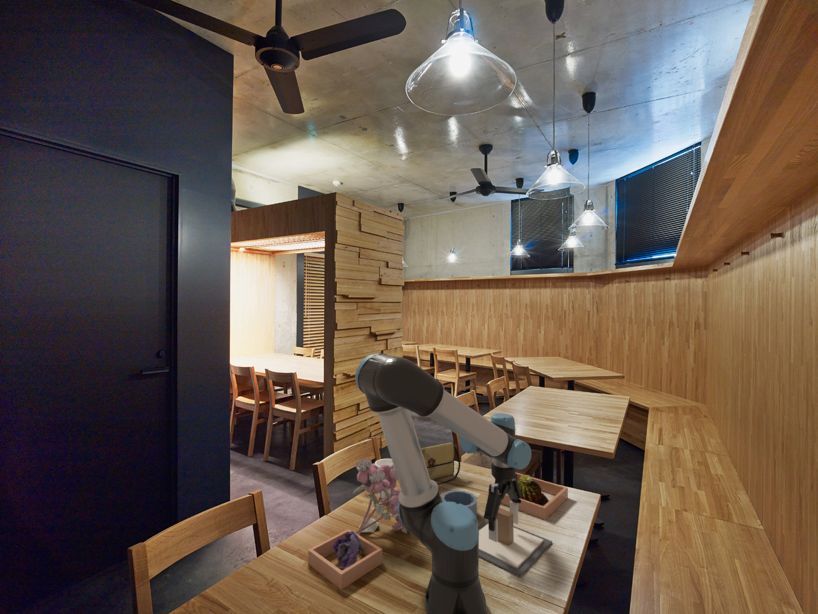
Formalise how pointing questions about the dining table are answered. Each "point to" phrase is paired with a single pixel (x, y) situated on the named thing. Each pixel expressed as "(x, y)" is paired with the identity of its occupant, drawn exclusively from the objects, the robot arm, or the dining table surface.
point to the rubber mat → (525, 564)
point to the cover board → (509, 551)
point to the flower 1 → (348, 549)
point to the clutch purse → (441, 460)
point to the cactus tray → (538, 509)
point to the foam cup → (379, 464)
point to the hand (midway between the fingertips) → (504, 531)
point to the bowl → (461, 499)
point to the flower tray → (351, 572)
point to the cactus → (531, 491)
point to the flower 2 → (379, 486)
